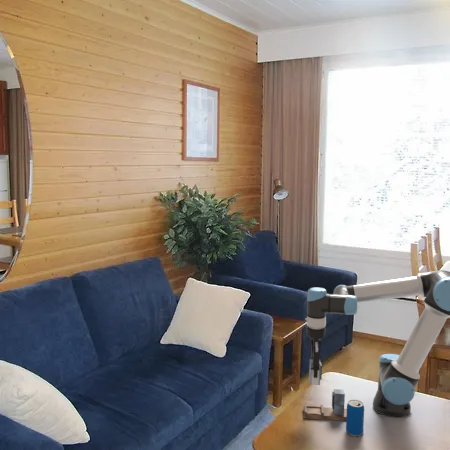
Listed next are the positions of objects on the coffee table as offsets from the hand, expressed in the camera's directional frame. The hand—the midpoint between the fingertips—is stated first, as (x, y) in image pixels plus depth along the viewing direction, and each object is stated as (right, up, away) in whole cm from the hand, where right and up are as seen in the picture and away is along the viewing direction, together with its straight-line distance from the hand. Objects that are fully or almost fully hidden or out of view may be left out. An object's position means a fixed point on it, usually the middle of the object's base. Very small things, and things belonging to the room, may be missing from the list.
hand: (314, 381), depth 208 cm
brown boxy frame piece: (+5, -14, +2) cm, 15 cm away
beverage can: (+13, -16, -11) cm, 24 cm away
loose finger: (0, 0, 0) cm, 0 cm away
